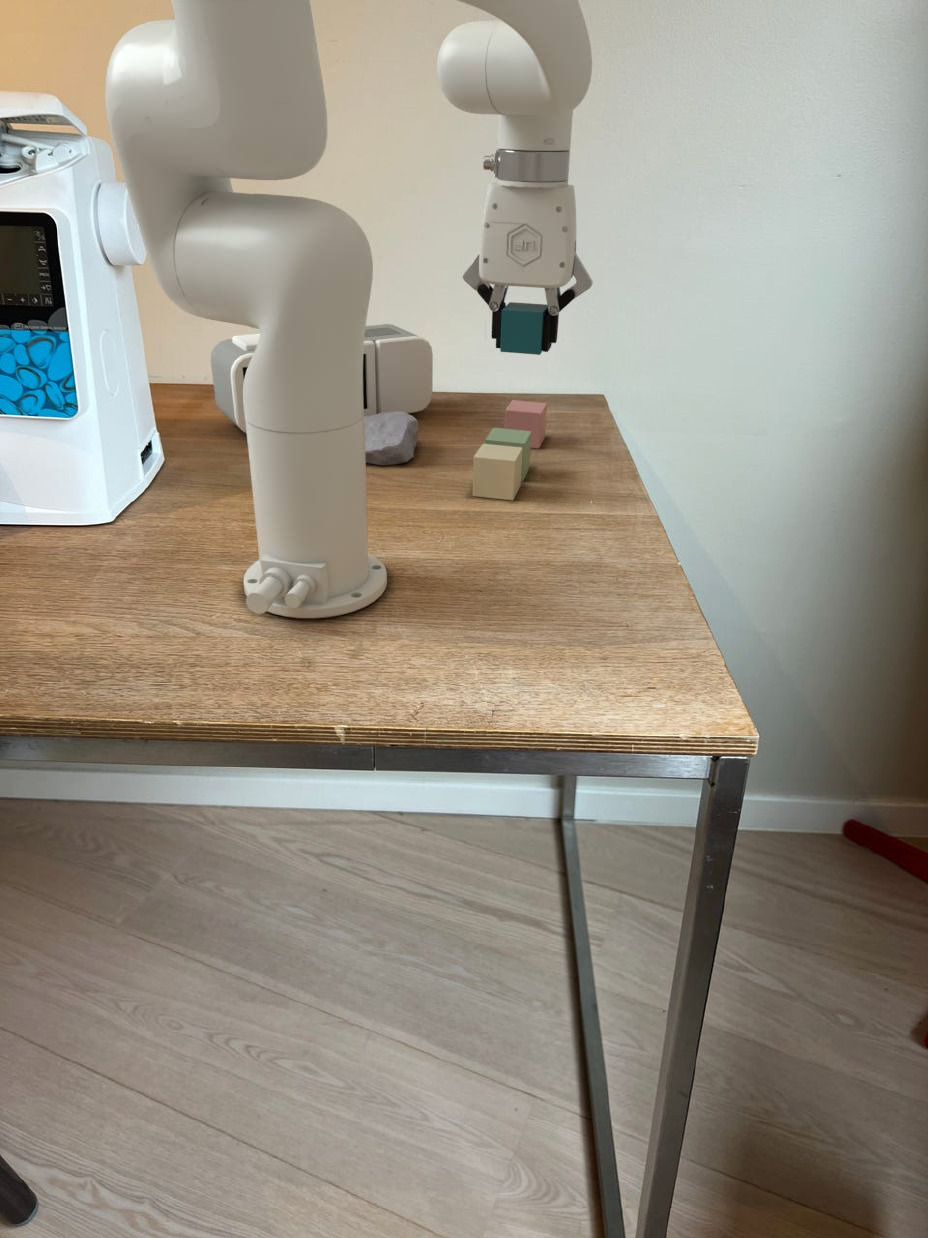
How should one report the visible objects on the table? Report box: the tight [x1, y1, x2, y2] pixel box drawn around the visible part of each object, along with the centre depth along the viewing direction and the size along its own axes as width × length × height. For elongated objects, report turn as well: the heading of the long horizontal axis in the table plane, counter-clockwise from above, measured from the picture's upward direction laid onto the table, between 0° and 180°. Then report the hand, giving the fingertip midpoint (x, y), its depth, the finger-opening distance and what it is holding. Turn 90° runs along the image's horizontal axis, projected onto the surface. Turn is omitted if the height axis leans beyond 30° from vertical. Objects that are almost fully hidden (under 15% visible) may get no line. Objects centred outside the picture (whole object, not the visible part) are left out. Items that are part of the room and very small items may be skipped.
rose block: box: [504, 399, 548, 449], centre depth 116 cm, size 5×5×5 cm
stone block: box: [364, 412, 419, 466], centre depth 111 cm, size 12×5×10 cm
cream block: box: [472, 443, 523, 501], centre depth 100 cm, size 5×5×5 cm
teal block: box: [499, 301, 548, 356], centre depth 102 cm, size 5×5×5 cm
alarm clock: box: [210, 323, 434, 434], centre depth 119 cm, size 27×9×12 cm, turn 120°
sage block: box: [484, 427, 532, 483], centre depth 105 cm, size 5×5×5 cm
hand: (523, 345), depth 103 cm, fingers closed on teal block, 4 cm apart
